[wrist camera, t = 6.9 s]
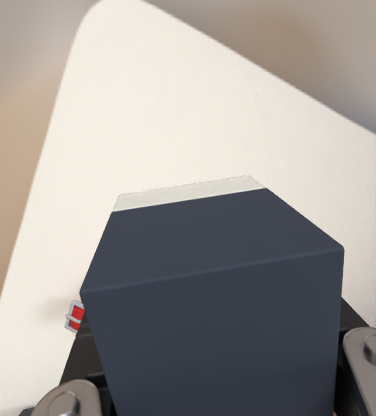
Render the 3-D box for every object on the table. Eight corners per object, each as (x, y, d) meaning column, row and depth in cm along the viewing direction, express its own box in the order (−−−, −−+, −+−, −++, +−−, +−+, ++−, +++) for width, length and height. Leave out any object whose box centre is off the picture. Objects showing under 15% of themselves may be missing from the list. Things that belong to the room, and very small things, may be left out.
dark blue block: (118, 194, 9) (77, 292, 4) (250, 173, 9) (346, 246, 5) (165, 406, 12) (170, 593, 8) (261, 388, 13) (324, 557, 8)
